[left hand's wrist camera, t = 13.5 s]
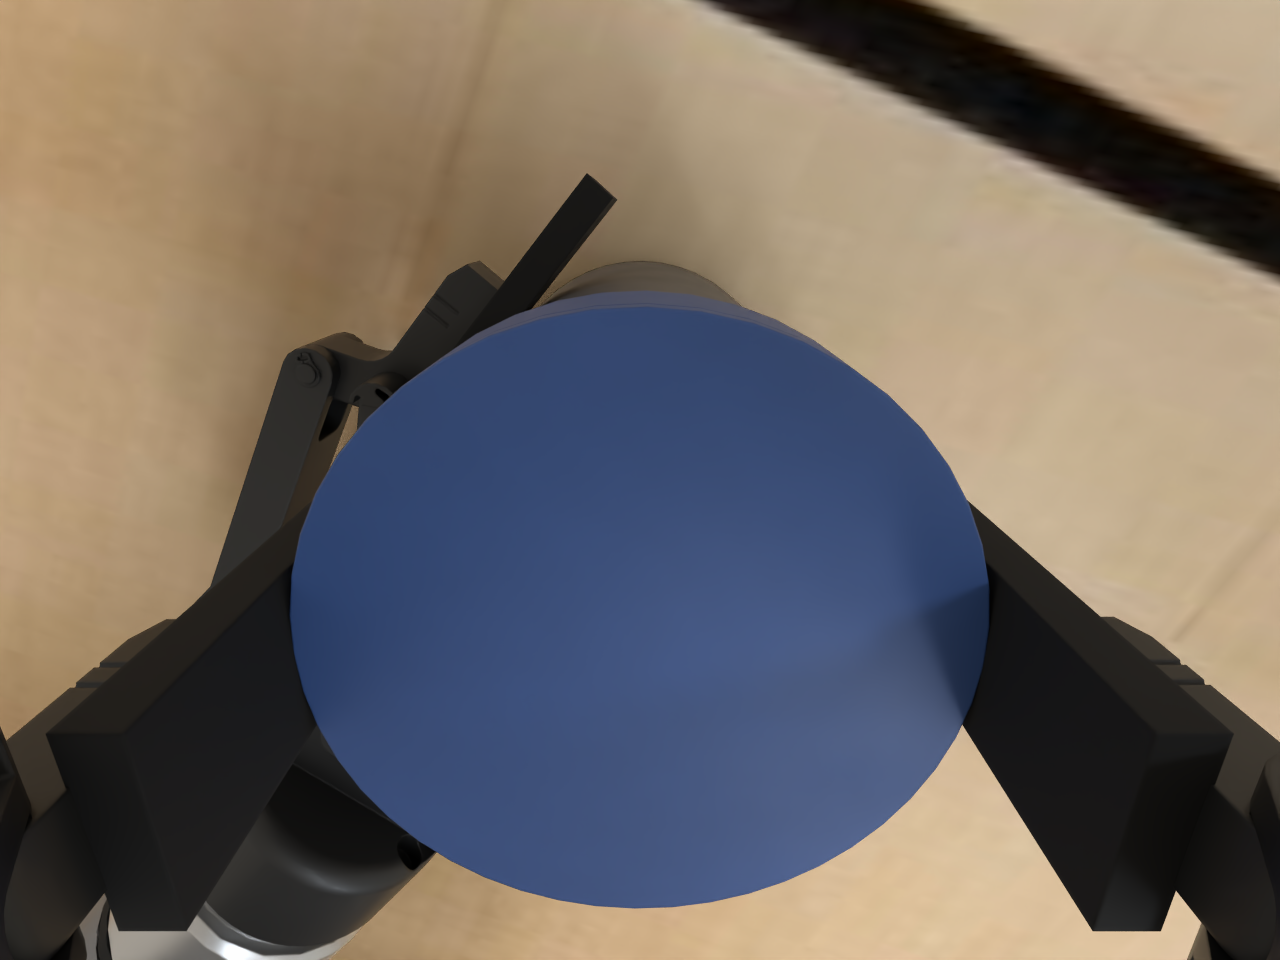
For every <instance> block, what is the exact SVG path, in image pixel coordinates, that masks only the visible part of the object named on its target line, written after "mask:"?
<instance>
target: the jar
mask: <svg viewBox="0 0 1280 960" xmlns="http://www.w3.org/2000/svg"><path fill="white" fill-rule="evenodd" d="M626 291H657V292H669V293H680V294H691V295H696V296H700V297H705V298H709V299H714V300H718V301H722V302H727V303H731V304H735V305H738V306H741V305H739V304H738V303H737V302H736V301H735V300H734V299H733V298H732V297H731V296H730V295H729V294H727V293H726V292H725V291H724V290H722V289H721V288H719V287H718V286H717V285H715V284H714V283H713V282H711V281H709V280H707V279H705V278H704V277H702V276H700V275H698V274H696V273H694V272H691V271H688V270H686V269H683V268H680V267H677V266H673V265H668V264H664V263H657V262H645V261H638V262H623V263H617V264H612V265H607V266H604V267H601V268H598V269H595V270H592V271H589V272H587V273H585V274H583V275H581V276H579V277H577V278H575V279H573V280H571V281H570V282H568V283H567V284H565V285H564V286H562V287H561V288H559V289H558V290H557V291H556V292H554V293H553V294H552V295H551V296H550V297H549V298H548V299H547V300H546V301H545V302H543V303H542V304H541V305H540V306H543V305H546V304H549V303H552V302H555V301H559V300H565V299H570V298H575V297H581V296H586V295H592V294H597V293H606V292H626ZM540 306H539V307H540ZM741 307H742V306H741Z"/></svg>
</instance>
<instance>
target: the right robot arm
mask: <svg viewBox="0 0 1280 960" xmlns="http://www.w3.org/2000/svg"><path fill="white" fill-rule="evenodd" d="M616 201H617V199H616V198H615V197H614V196H612V195H611V194H610V193H609V192H608V191H607V190H606V189H605V188H604V187H603V186H602V185H600V184H599V183H598V182H597V181H596V180H595V179H594V178H592V177H591V176H590V175H589V174H586V175H585V176H584V178H583V179H582V180H581V182H580V183H579V184H578V186H577V187H576V188H575V189H574V191H573V192H572V193H571V195H570V196H569V197H568V199H567V200H566V201H565V203H564V204H563V205H562V207H561V208H560V209H559V210H558V212H557V213H556V214H555V216H554V217H553V218H552V220H551V221H550V222H549V224H548V225H547V226H546V228H545V229H544V230H543V231H542V233H541V234H540V235H539V237H538V238H537V239H536V241H535V242H534V243H533V245H532V246H531V247H530V249H529V250H528V251H527V252H526V254H525V255H524V256H523V258H522V259H521V260H520V262H519V263H518V264H517V266H516V267H515V268H514V270H513V271H512V272H511V273H510V275H509V276H508V277H507V279H506V280H505V281H503V280H502V279H501V278H500V277H499V276H497V275H496V274H495V273H494V272H493V271H491V270H490V269H489V268H488V267H487V266H485V265H484V264H483V263H482V262H481V261H477V262H474V263H470V264H467V265H465V266H464V267H462V268H460V269H458V270H457V271H455V272H453V273H451V274H450V275H448V276H447V277H446V279H445V280H444V281H443V283H442V284H441V286H440V287H439V288H438V290H437V291H436V292H435V294H434V296H432V298H431V299H430V301H429V302H428V303H427V305H426V306H425V308H424V309H423V310H422V311H421V313H420V314H419V316H418V317H417V318H416V320H415V321H414V322H413V324H412V325H411V327H410V328H409V329H408V331H407V332H406V333H405V335H404V336H403V337H402V339H401V340H400V342H399V343H398V344H397V346H396V347H395V348H394V350H393V351H385V350H381V349H377V348H374V347H372V346H369V345H366V344H364V343H363V342H362V340H361V339H359V338H358V337H356V336H355V335H353V334H350V333H346V332H343V333H336V334H333V335H331V336H328V337H326V338H323V339H321V340H318V341H315V342H313V343H310V344H308V345H305V346H303V347H300V348H298V349H295V350H294V351H292V352H291V353H289V354H288V355H287V357H286V358H285V360H284V362H283V364H282V368H281V371H280V374H279V377H278V380H277V383H276V386H275V389H274V392H273V395H272V398H271V401H270V405H269V408H268V411H267V414H266V417H265V420H264V423H263V426H262V429H261V432H260V435H259V438H258V442H257V445H256V448H255V451H254V454H253V457H252V460H251V463H250V466H249V469H248V472H247V475H246V479H245V482H244V485H243V488H242V491H241V494H240V497H239V500H238V503H237V506H236V509H235V512H234V516H233V519H232V522H231V525H230V528H229V531H228V534H227V537H226V540H225V543H224V546H223V549H222V553H221V556H220V559H219V562H218V565H217V568H216V571H215V574H214V577H213V580H212V583H211V586H210V588H209V589H208V590H207V591H206V592H205V593H204V594H203V595H205V594H206V593H207V592H208V591H209V590H210V589H211V588H213V587H214V586H215V585H216V584H217V583H218V582H219V581H221V580H222V579H223V578H224V577H225V576H226V575H227V574H229V573H230V572H231V571H232V570H233V569H234V568H235V567H237V566H238V565H239V564H240V563H241V562H242V561H243V560H245V559H246V558H247V557H248V556H249V555H250V554H251V553H253V552H254V551H255V550H256V549H257V548H258V547H259V546H261V545H262V544H263V543H264V542H265V541H266V540H267V539H269V538H270V537H271V536H272V535H273V534H274V533H275V532H277V531H278V530H279V529H280V528H281V527H282V526H284V525H285V524H286V523H287V522H288V521H289V520H290V519H292V518H293V517H294V516H295V515H296V514H297V513H298V512H300V511H301V510H302V509H303V508H304V507H305V506H306V505H308V504H309V503H310V502H311V501H312V500H313V498H314V496H315V493H316V492H317V490H318V488H319V486H320V485H321V483H322V481H323V479H324V478H325V476H326V474H327V472H328V470H329V467H330V465H331V462H332V459H333V456H334V454H335V451H336V448H337V446H338V443H339V440H340V437H341V435H342V432H343V429H344V427H345V424H346V421H347V418H348V416H349V413H350V410H351V407H352V405H354V406H357V407H359V412H358V423H357V430H358V429H359V427H360V426H361V425H362V424H363V422H364V421H365V420H366V419H367V418H368V417H369V416H370V415H371V414H372V413H373V412H374V411H375V410H377V409H378V408H379V407H380V406H381V405H382V404H383V403H384V402H385V401H386V400H387V399H388V398H390V397H391V396H392V395H393V394H394V393H395V392H396V391H397V390H398V389H399V388H400V387H401V386H403V385H404V384H406V383H407V382H408V381H410V380H411V379H413V378H414V377H415V376H417V375H418V374H419V373H421V372H422V371H424V370H425V369H426V368H428V367H429V366H431V365H432V364H433V363H435V362H436V361H437V360H439V359H440V358H442V357H443V356H445V355H446V354H448V353H449V352H450V351H452V350H453V349H455V348H456V347H458V346H459V345H461V344H462V343H464V342H465V341H467V340H468V339H469V338H471V337H472V336H474V335H475V334H477V333H479V332H481V331H483V330H485V329H487V328H489V327H491V326H493V325H495V324H497V323H499V322H501V321H503V320H505V319H507V318H510V317H512V316H514V315H516V314H519V313H522V312H525V311H528V310H531V309H532V308H533V306H534V305H535V304H536V303H537V301H538V300H539V299H540V297H541V296H542V295H543V294H544V292H545V291H546V290H547V289H548V287H549V286H550V285H551V283H552V282H553V281H554V280H555V278H556V277H557V276H558V275H559V273H560V272H561V271H562V269H563V268H564V267H565V266H566V264H567V263H568V262H569V261H570V259H571V258H572V257H573V255H574V254H575V253H576V252H577V250H578V249H579V248H580V247H581V245H582V244H583V243H584V241H585V240H586V239H587V238H588V236H589V235H590V234H591V233H592V231H593V230H594V229H595V227H596V226H597V225H598V224H599V222H600V221H601V220H602V219H603V217H604V216H605V215H606V213H607V212H608V211H609V210H610V208H611V207H612V206H613V205H614V203H615V202H616ZM203 595H202V596H203ZM202 596H201V597H202ZM201 597H200V598H201ZM200 598H199V599H200ZM199 599H198V600H199ZM198 600H197V601H198ZM197 601H196V602H197ZM435 854H436V851H434V850H433V849H431V848H429V847H428V846H426V845H425V844H423V843H421V842H420V841H418V840H417V839H416V838H414V837H413V836H412V835H411V834H409V833H408V832H407V831H405V830H404V829H403V828H402V827H400V826H399V825H398V824H397V823H395V822H394V821H393V820H392V819H390V818H389V817H388V816H387V815H386V814H385V813H384V812H383V811H382V810H381V809H380V808H379V807H378V806H377V805H376V804H375V803H374V802H373V801H372V800H371V799H370V798H369V797H368V796H367V795H366V794H365V793H364V792H363V791H362V790H361V789H360V788H359V786H358V785H357V784H356V783H355V781H354V780H353V779H352V778H351V776H350V775H349V774H348V772H347V771H346V770H345V769H344V767H343V766H342V765H341V764H340V762H339V761H338V760H337V758H336V756H335V754H334V753H333V751H332V749H331V748H330V746H329V744H328V743H327V741H326V739H325V738H324V736H323V734H322V733H321V731H320V729H319V727H318V725H317V726H316V727H315V729H314V730H313V732H312V734H311V735H310V737H309V738H308V740H307V742H306V743H305V745H304V746H303V748H302V749H301V751H300V753H299V754H298V756H297V757H296V759H295V761H294V762H293V764H292V765H291V767H290V768H289V770H288V772H287V773H286V775H285V776H284V778H283V780H282V781H281V783H280V784H279V786H278V787H277V789H276V791H275V792H274V794H273V795H272V797H271V799H270V800H269V802H268V803H267V805H266V806H265V808H264V810H263V811H262V813H261V814H260V816H259V818H258V819H257V821H256V822H255V824H254V825H253V827H252V829H251V830H250V832H249V833H248V835H247V837H246V838H245V840H244V841H243V843H242V844H241V846H240V848H239V849H238V851H237V852H236V854H235V856H234V857H233V859H232V860H231V862H230V863H229V865H228V867H227V868H226V870H225V871H224V873H223V875H222V876H221V878H220V879H219V881H218V882H217V884H216V886H215V887H214V889H213V890H212V892H211V894H210V895H209V897H208V898H207V900H206V901H205V903H204V905H203V906H202V908H201V909H200V911H199V913H198V914H197V916H196V917H195V919H194V920H193V922H192V924H191V925H190V927H189V928H188V930H187V931H118V928H117V926H116V923H115V920H114V917H113V915H112V912H111V909H110V907H109V904H108V901H107V899H106V896H105V894H104V895H103V896H102V897H101V898H100V900H99V901H98V902H97V903H96V905H95V906H94V907H93V908H92V910H91V911H90V912H89V914H88V915H87V916H86V917H85V919H84V920H83V921H82V922H81V924H80V925H79V926H80V928H81V931H82V933H83V936H84V939H85V944H86V951H87V960H330V959H331V958H332V957H333V956H334V955H335V954H336V953H337V952H339V951H340V950H341V949H342V948H343V947H344V946H345V945H346V944H347V943H348V942H349V941H350V940H351V939H352V938H353V937H354V936H355V935H356V934H357V932H358V931H359V930H360V929H361V927H362V926H363V925H364V924H365V923H367V922H368V921H369V920H370V919H371V918H372V917H373V916H374V915H375V914H376V913H377V912H378V911H379V910H380V909H381V908H382V907H383V906H384V905H385V904H386V903H387V902H388V901H390V900H391V899H392V898H393V897H394V896H395V895H396V894H397V893H398V892H399V891H400V890H401V889H402V888H403V887H404V886H405V885H406V884H407V883H408V882H409V881H410V880H411V879H412V878H413V877H414V876H415V875H416V874H417V873H418V872H419V871H420V870H421V869H422V868H423V867H424V866H425V865H426V864H427V863H428V862H429V861H430V859H431V858H432V857H433V856H434V855H435Z"/></svg>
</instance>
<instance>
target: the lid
mask: <svg viewBox="0 0 1280 960" xmlns="http://www.w3.org/2000/svg"><path fill="white" fill-rule="evenodd" d="M290 624H291V633H292V642H293V650H294V655H295V660H296V664H297V669H298V673H299V676H300V680H301V684H302V688H303V692H304V694H305V697H306V699H307V701H308V704H309V706H310V709H311V711H312V713H313V716H314V718H315V720H316V723H317V725H318V727H319V729H320V731H321V733H322V734H323V736H324V738H325V739H326V741H327V743H328V744H329V746H330V748H331V749H332V751H333V753H334V754H335V756H336V758H337V760H338V761H339V762H340V764H341V765H342V766H343V767H344V769H345V770H346V771H347V772H348V774H349V775H350V776H351V778H352V779H353V780H354V781H355V783H356V784H357V785H358V786H359V788H360V789H361V790H362V791H363V792H364V793H365V794H366V795H367V796H368V797H369V798H370V799H371V800H372V801H373V802H374V803H375V804H376V805H377V806H378V807H379V808H380V809H381V810H382V811H383V812H384V813H385V814H386V815H387V816H388V817H389V818H390V819H392V820H393V821H394V822H395V823H397V824H398V825H399V826H400V827H402V828H403V829H404V830H405V831H407V832H408V833H409V834H411V835H412V836H413V837H414V838H416V839H417V840H418V841H420V842H421V843H423V844H425V845H426V846H428V847H429V848H431V849H433V850H434V851H436V852H437V853H439V854H441V855H442V856H444V857H445V858H447V859H449V860H450V861H452V862H454V863H456V864H458V865H460V866H463V867H465V868H467V869H469V870H471V871H473V872H475V873H477V874H479V875H481V876H483V877H485V878H488V879H491V880H494V881H496V882H499V883H502V884H504V885H507V886H510V887H513V888H515V889H518V890H521V891H525V892H529V893H533V894H536V895H540V896H544V897H548V898H552V899H556V900H561V901H567V902H574V903H580V904H586V905H593V906H604V907H620V908H660V907H677V906H685V905H693V904H700V903H708V902H714V901H718V900H723V899H727V898H731V897H736V896H740V895H745V894H749V893H752V892H755V891H758V890H761V889H764V888H767V887H770V886H773V885H776V884H779V883H782V882H785V881H787V880H789V879H791V878H794V877H796V876H798V875H800V874H803V873H805V872H807V871H809V870H812V869H814V868H816V867H818V866H820V865H822V864H824V863H825V862H827V861H829V860H831V859H832V858H834V857H836V856H837V855H839V854H841V853H843V852H844V851H846V850H848V849H849V848H851V847H853V846H854V845H856V844H857V843H858V842H860V841H861V840H862V839H864V838H865V837H866V836H868V835H869V834H870V833H872V832H873V831H875V830H876V829H877V828H879V827H880V826H881V825H883V824H884V823H885V822H886V821H887V820H888V819H889V818H890V817H891V816H892V815H894V814H895V813H896V812H897V811H898V810H899V809H900V808H901V807H902V806H903V805H904V804H905V803H906V802H907V801H909V800H910V799H911V798H912V796H913V795H914V794H915V793H916V792H917V791H918V789H919V788H920V787H921V786H922V785H923V783H924V782H925V781H926V780H927V779H928V777H929V776H930V775H931V774H932V773H933V772H934V770H935V769H936V768H937V766H938V764H939V763H940V761H941V760H942V758H943V757H944V755H945V754H946V752H947V751H948V749H949V747H950V746H951V744H952V743H953V741H954V740H955V738H956V736H957V734H958V732H959V730H960V728H961V726H962V724H963V721H964V719H965V717H966V715H967V713H968V711H969V709H970V706H971V704H972V702H973V699H974V695H975V692H976V689H977V686H978V682H979V679H980V676H981V673H982V668H983V664H984V658H985V653H986V646H987V640H988V633H989V582H988V576H987V569H986V563H985V557H984V551H983V545H982V542H981V539H980V536H979V533H978V530H977V527H976V524H975V521H974V518H973V515H972V512H971V509H970V506H969V503H968V502H967V500H966V498H965V496H964V494H963V492H962V490H961V488H960V486H959V484H958V482H957V480H956V478H955V476H954V474H953V472H952V471H951V469H950V467H949V465H948V464H947V462H946V461H945V460H944V458H943V457H942V456H941V454H940V453H939V451H938V450H937V449H936V447H935V446H934V445H933V443H932V442H931V440H930V439H929V438H928V436H927V435H926V434H925V432H924V431H923V430H922V428H921V427H920V426H919V425H918V424H917V423H916V422H915V421H914V420H913V419H912V418H911V417H910V416H909V415H908V414H907V413H906V412H905V411H904V410H903V409H902V408H901V407H900V406H899V405H898V404H897V403H896V402H895V401H894V400H893V399H892V398H891V397H890V396H889V395H888V394H886V393H885V392H883V391H882V390H881V389H879V388H878V387H877V386H875V385H874V384H873V383H871V382H870V381H869V380H867V379H866V378H865V377H863V376H862V375H861V374H859V373H858V372H857V371H855V370H854V369H853V368H851V367H850V366H849V365H847V364H846V363H844V362H843V361H842V360H840V359H839V358H838V357H836V356H835V355H833V354H832V353H831V352H829V351H828V350H827V349H825V348H824V347H822V346H821V345H820V344H818V343H817V342H816V341H814V340H812V339H811V338H809V337H807V336H805V335H803V334H801V333H800V332H798V331H796V330H794V329H792V328H790V327H788V326H787V325H785V324H783V323H781V322H779V321H777V320H775V319H773V318H770V317H767V316H765V315H762V314H759V313H757V312H754V311H751V310H749V309H746V308H743V307H741V306H738V305H735V304H731V303H727V302H722V301H718V300H714V299H709V298H705V297H700V296H696V295H691V294H680V293H669V292H657V291H626V292H606V293H597V294H592V295H586V296H581V297H575V298H570V299H565V300H559V301H555V302H552V303H549V304H546V305H543V306H540V307H537V308H534V309H531V310H528V311H525V312H522V313H519V314H516V315H514V316H512V317H510V318H507V319H505V320H503V321H501V322H499V323H497V324H495V325H493V326H491V327H489V328H487V329H485V330H483V331H481V332H479V333H477V334H475V335H474V336H472V337H471V338H469V339H468V340H467V341H465V342H464V343H462V344H461V345H459V346H458V347H456V348H455V349H453V350H452V351H450V352H449V353H448V354H446V355H445V356H443V357H442V358H440V359H439V360H437V361H436V362H435V363H433V364H432V365H431V366H429V367H428V368H426V369H425V370H424V371H422V372H421V373H419V374H418V375H417V376H415V377H414V378H413V379H411V380H410V381H408V382H407V383H406V384H404V385H403V386H401V387H400V388H399V389H398V390H397V391H396V392H395V393H394V394H393V395H392V396H391V397H390V398H388V399H387V400H386V401H385V402H384V403H383V404H382V405H381V406H380V407H379V408H378V409H377V410H375V411H374V412H373V413H372V414H371V415H370V416H369V417H368V418H367V419H366V420H365V421H364V422H363V424H362V425H361V426H360V427H359V429H358V430H357V431H356V432H355V434H354V435H353V436H352V437H351V439H350V440H349V441H348V442H347V444H346V445H345V446H344V447H343V449H342V450H341V451H340V452H339V454H338V455H337V457H336V458H335V460H334V462H333V464H332V465H331V467H330V469H329V471H328V472H327V474H326V476H325V478H324V479H323V481H322V483H321V485H320V486H319V488H318V490H317V492H316V493H315V496H314V498H313V501H312V504H311V506H310V509H309V512H308V514H307V517H306V519H305V522H304V525H303V527H302V530H301V533H300V537H299V541H298V546H297V551H296V556H295V561H294V565H293V570H292V577H291V598H290Z"/></svg>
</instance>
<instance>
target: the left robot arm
mask: <svg viewBox="0 0 1280 960" xmlns="http://www.w3.org/2000/svg"><path fill="white" fill-rule="evenodd" d="M312 501H313V500H312ZM312 501H311V502H310V503H309V504H308V505H306V506H305V507H304V508H303V509H302V510H301V511H300V512H298V513H297V514H296V515H295V516H294V517H293V518H292V519H290V520H289V521H288V522H287V523H286V524H285V525H284V526H282V527H281V528H280V529H279V530H278V531H277V532H275V533H274V534H273V535H272V536H271V537H270V538H269V539H267V540H266V541H265V542H264V543H263V544H262V545H261V546H259V547H258V548H257V549H256V550H255V551H254V552H253V553H251V554H250V555H249V556H248V557H247V558H246V559H245V560H243V561H242V562H241V563H240V564H239V565H238V566H237V567H235V568H234V569H233V570H232V571H231V572H230V573H229V574H227V575H226V576H225V577H224V578H223V579H222V580H221V581H219V582H218V583H217V584H216V585H215V586H214V587H213V588H211V589H210V590H209V591H208V592H207V593H206V594H205V595H203V596H202V597H201V598H200V599H199V600H198V601H197V602H195V603H194V604H193V605H192V606H191V607H190V608H189V609H187V610H186V611H185V612H184V613H183V614H182V615H181V616H179V617H178V618H177V619H166V620H164V621H162V622H160V623H159V624H157V625H155V626H153V627H151V628H149V629H147V630H145V631H143V632H141V633H139V634H138V635H136V636H134V637H132V638H130V639H128V640H127V641H126V642H125V643H123V644H122V645H121V646H120V647H119V648H117V649H116V650H115V651H114V652H113V653H111V654H110V655H109V656H108V657H106V658H105V659H104V660H103V661H102V662H100V667H99V668H93V669H92V670H91V671H90V672H88V673H87V674H86V675H85V676H84V677H82V678H81V679H80V680H79V681H78V682H76V687H75V688H69V689H68V690H67V691H66V692H64V693H63V694H62V695H61V696H60V697H58V698H57V699H56V700H55V701H54V702H52V703H51V704H50V705H49V706H48V707H46V708H45V709H44V710H43V711H42V712H40V713H39V714H38V715H37V716H36V717H34V718H33V719H32V720H31V721H30V722H28V723H27V724H26V725H25V726H24V727H22V728H21V729H20V730H19V731H18V732H16V733H15V734H14V735H13V736H11V737H10V738H9V739H8V740H7V741H6V740H5V737H4V735H3V732H2V730H1V727H0V960H87V951H86V944H85V939H84V936H83V933H82V931H81V928H80V926H79V925H80V924H81V922H82V921H83V920H84V919H85V917H86V916H87V915H88V914H89V912H90V911H91V910H92V908H93V907H94V906H95V905H96V903H97V902H98V901H99V900H100V898H101V897H102V896H103V894H104V893H105V896H106V899H107V901H108V904H109V907H110V909H111V912H112V915H113V917H114V920H115V923H116V926H117V928H118V931H187V930H188V928H189V927H190V925H191V924H192V922H193V920H194V919H195V917H196V916H197V914H198V913H199V911H200V909H201V908H202V906H203V905H204V903H205V901H206V900H207V898H208V897H209V895H210V894H211V892H212V890H213V889H214V887H215V886H216V884H217V882H218V881H219V879H220V878H221V876H222V875H223V873H224V871H225V870H226V868H227V867H228V865H229V863H230V862H231V860H232V859H233V857H234V856H235V854H236V852H237V851H238V849H239V848H240V846H241V844H242V843H243V841H244V840H245V838H246V837H247V835H248V833H249V832H250V830H251V829H252V827H253V825H254V824H255V822H256V821H257V819H258V818H259V816H260V814H261V813H262V811H263V810H264V808H265V806H266V805H267V803H268V802H269V800H270V799H271V797H272V795H273V794H274V792H275V791H276V789H277V787H278V786H279V784H280V783H281V781H282V780H283V778H284V776H285V775H286V773H287V772H288V770H289V768H290V767H291V765H292V764H293V762H294V761H295V759H296V757H297V756H298V754H299V753H300V751H301V749H302V748H303V746H304V745H305V743H306V742H307V740H308V738H309V737H310V735H311V734H312V732H313V730H314V729H315V727H316V726H317V723H316V720H315V718H314V716H313V713H312V711H311V709H310V706H309V704H308V701H307V699H306V697H305V694H304V692H303V688H302V684H301V680H300V676H299V673H298V669H297V664H296V660H295V655H294V650H293V642H292V633H291V624H290V598H291V577H292V570H293V565H294V561H295V556H296V551H297V546H298V541H299V537H300V533H301V530H302V527H303V525H304V522H305V519H306V517H307V514H308V512H309V509H310V506H311V504H312ZM967 502H968V503H969V506H970V509H971V512H972V515H973V518H974V521H975V524H976V527H977V530H978V533H979V536H980V539H981V542H982V545H983V551H984V557H985V563H986V569H987V576H988V582H989V633H988V640H987V646H986V653H985V658H984V664H983V668H982V673H981V676H980V679H979V682H978V686H977V689H976V692H975V695H974V699H973V702H972V704H971V706H970V709H969V711H968V713H967V715H966V717H965V719H964V721H963V724H962V725H963V726H964V728H965V730H966V731H967V733H968V734H969V736H970V737H971V739H972V741H973V742H974V744H975V745H976V747H977V749H978V750H979V752H980V753H981V755H982V756H983V758H984V760H985V761H986V763H987V764H988V766H989V768H990V769H991V771H992V772H993V774H994V775H995V777H996V779H997V780H998V782H999V783H1000V785H1001V787H1002V788H1003V790H1004V791H1005V793H1006V794H1007V796H1008V798H1009V799H1010V801H1011V802H1012V804H1013V806H1014V807H1015V809H1016V810H1017V812H1018V813H1019V815H1020V817H1021V818H1022V820H1023V821H1024V823H1025V825H1026V826H1027V828H1028V829H1029V831H1030V832H1031V834H1032V836H1033V837H1034V839H1035V840H1036V842H1037V844H1038V845H1039V847H1040V848H1041V850H1042V851H1043V853H1044V855H1045V856H1046V858H1047V859H1048V861H1049V863H1050V864H1051V866H1052V867H1053V869H1054V870H1055V872H1056V874H1057V875H1058V877H1059V878H1060V880H1061V882H1062V883H1063V885H1064V886H1065V888H1066V889H1067V891H1068V893H1069V894H1070V896H1071V897H1072V899H1073V901H1074V902H1075V904H1076V905H1077V907H1078V908H1079V910H1080V912H1081V913H1082V915H1083V916H1084V918H1085V920H1086V921H1087V923H1088V924H1089V926H1090V927H1091V929H1092V931H1161V929H1162V927H1163V924H1164V921H1165V919H1166V916H1167V913H1168V911H1169V908H1170V905H1171V902H1172V900H1173V897H1174V894H1175V892H1176V891H1177V892H1178V894H1179V895H1180V896H1181V897H1182V899H1183V900H1184V901H1185V902H1186V904H1187V905H1188V906H1189V907H1190V909H1191V910H1192V911H1193V912H1194V914H1195V915H1196V916H1197V918H1198V919H1199V920H1200V921H1201V926H1200V928H1199V931H1198V933H1197V936H1196V939H1195V941H1194V944H1193V946H1192V949H1191V951H1190V954H1189V956H1188V959H1187V960H1280V742H1279V741H1278V740H1276V739H1275V738H1274V737H1273V736H1272V735H1270V734H1269V733H1268V732H1267V731H1265V730H1264V729H1263V728H1262V727H1261V726H1259V725H1258V724H1257V723H1256V722H1255V721H1253V720H1252V719H1251V718H1250V717H1249V716H1247V715H1246V714H1245V713H1244V712H1242V711H1241V710H1240V709H1239V708H1238V707H1236V706H1235V705H1234V704H1233V703H1232V702H1230V701H1229V700H1228V699H1227V698H1225V697H1224V696H1223V695H1222V694H1221V693H1219V692H1218V691H1217V690H1216V689H1215V688H1213V687H1212V686H1211V685H1205V684H1204V679H1202V678H1201V677H1200V676H1199V675H1198V674H1196V673H1195V672H1194V671H1193V670H1192V669H1190V668H1189V667H1188V666H1187V665H1181V663H1180V660H1179V659H1178V658H1177V657H1176V656H1175V655H1173V654H1172V653H1171V652H1170V651H1169V650H1167V649H1166V648H1165V647H1164V646H1163V645H1161V644H1160V643H1159V642H1158V641H1156V640H1155V639H1154V638H1153V637H1151V636H1150V635H1148V634H1146V633H1144V632H1142V631H1140V630H1138V629H1136V628H1134V627H1132V626H1130V625H1128V624H1126V623H1125V622H1123V621H1121V620H1119V619H1117V618H1115V617H1100V616H1099V615H1098V614H1097V613H1096V612H1094V611H1093V610H1092V609H1091V608H1090V607H1089V606H1088V605H1086V604H1085V603H1084V602H1083V601H1082V600H1081V599H1080V598H1078V597H1077V596H1076V595H1075V594H1074V593H1073V592H1072V591H1070V590H1069V589H1068V588H1067V587H1066V586H1065V585H1064V584H1062V583H1061V582H1060V581H1059V580H1058V579H1057V578H1055V577H1054V576H1053V575H1052V574H1051V573H1050V572H1049V571H1047V570H1046V569H1045V568H1044V567H1043V566H1042V565H1041V564H1039V563H1038V562H1037V561H1036V560H1035V559H1034V558H1033V557H1031V556H1030V555H1029V554H1028V553H1027V552H1026V551H1025V550H1023V549H1022V548H1021V547H1020V546H1019V545H1018V544H1017V543H1015V542H1014V541H1013V540H1012V539H1011V538H1010V537H1009V536H1007V535H1006V534H1005V533H1004V532H1003V531H1002V530H1001V529H999V528H998V527H997V526H996V525H995V524H994V523H993V522H991V521H990V520H989V519H988V518H987V517H986V516H985V515H983V514H982V513H981V512H980V511H979V510H978V509H977V508H975V507H974V506H973V505H972V504H971V503H970V502H969V501H967Z"/></svg>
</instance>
